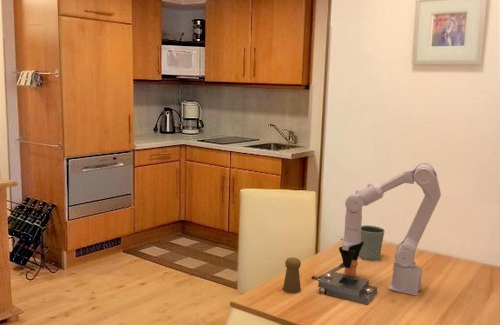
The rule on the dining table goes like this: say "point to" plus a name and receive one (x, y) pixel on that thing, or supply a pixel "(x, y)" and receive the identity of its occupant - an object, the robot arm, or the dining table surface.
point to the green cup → (371, 242)
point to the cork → (292, 276)
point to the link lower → (363, 298)
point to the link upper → (335, 283)
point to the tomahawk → (328, 272)
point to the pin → (351, 268)
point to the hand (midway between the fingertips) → (350, 264)
